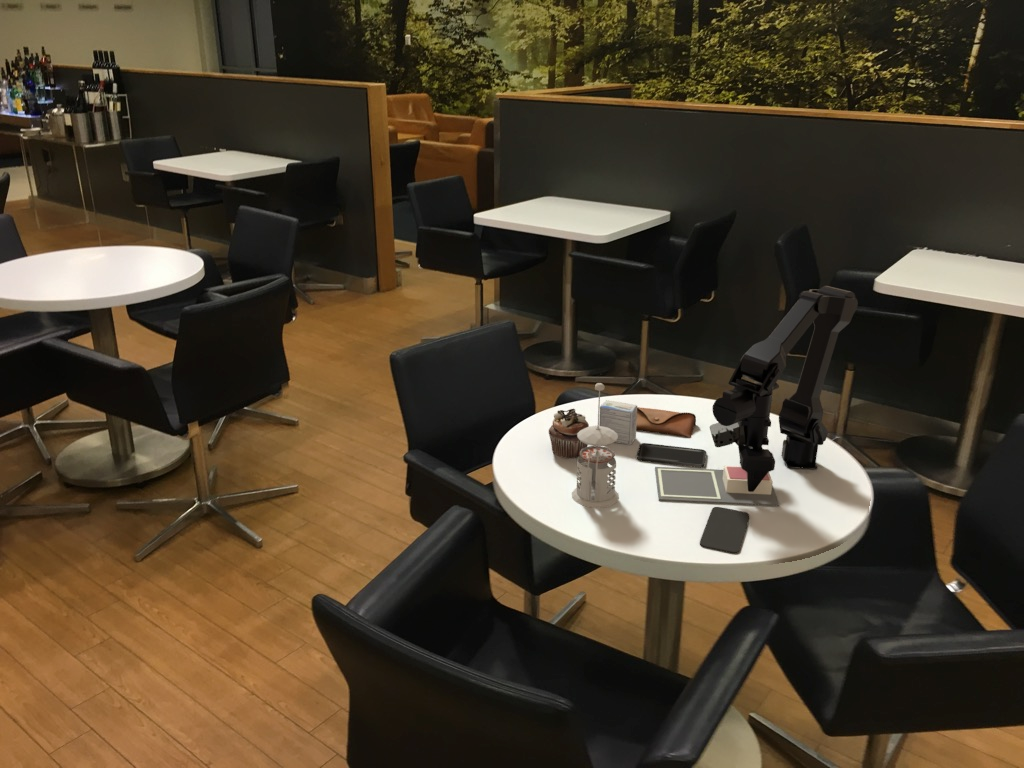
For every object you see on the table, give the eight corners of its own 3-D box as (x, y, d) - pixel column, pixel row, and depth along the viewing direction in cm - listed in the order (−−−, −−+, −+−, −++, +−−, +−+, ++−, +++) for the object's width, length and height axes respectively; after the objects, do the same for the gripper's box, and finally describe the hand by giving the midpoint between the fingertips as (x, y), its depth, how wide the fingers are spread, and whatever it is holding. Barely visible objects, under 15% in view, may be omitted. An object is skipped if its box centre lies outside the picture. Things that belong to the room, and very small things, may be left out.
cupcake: (599, 452, 192) (600, 412, 188) (565, 464, 187) (566, 423, 183) (572, 437, 200) (573, 398, 196) (539, 448, 194) (540, 408, 191)
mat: (767, 473, 183) (767, 471, 183) (779, 506, 170) (779, 504, 170) (654, 468, 185) (655, 466, 185) (658, 500, 172) (658, 498, 172)
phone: (698, 544, 157) (712, 505, 169) (697, 548, 157) (712, 509, 170) (739, 553, 154) (750, 512, 167) (738, 557, 154) (750, 516, 167)
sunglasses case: (617, 429, 203) (620, 402, 204) (620, 432, 210) (623, 406, 211) (693, 438, 199) (696, 410, 200) (694, 441, 205) (697, 414, 206)
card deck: (765, 480, 179) (767, 467, 178) (770, 494, 174) (772, 481, 172) (722, 478, 180) (723, 465, 179) (726, 492, 174) (727, 479, 173)
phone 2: (640, 442, 195) (706, 449, 192) (640, 446, 196) (706, 454, 192) (635, 457, 188) (704, 465, 185) (635, 462, 189) (704, 470, 185)
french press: (621, 486, 178) (627, 376, 168) (615, 514, 167) (621, 398, 158) (575, 481, 180) (578, 372, 170) (566, 509, 169) (569, 394, 160)
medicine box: (636, 438, 199) (638, 404, 196) (630, 446, 195) (632, 411, 192) (604, 432, 202) (605, 399, 199) (598, 439, 198) (599, 406, 195)
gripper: (709, 392, 180) (703, 458, 186) (720, 430, 163) (713, 501, 168) (762, 394, 179) (754, 460, 185) (779, 432, 161) (770, 503, 167)
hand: (747, 480), depth 176 cm, fingers open, 9 cm apart
